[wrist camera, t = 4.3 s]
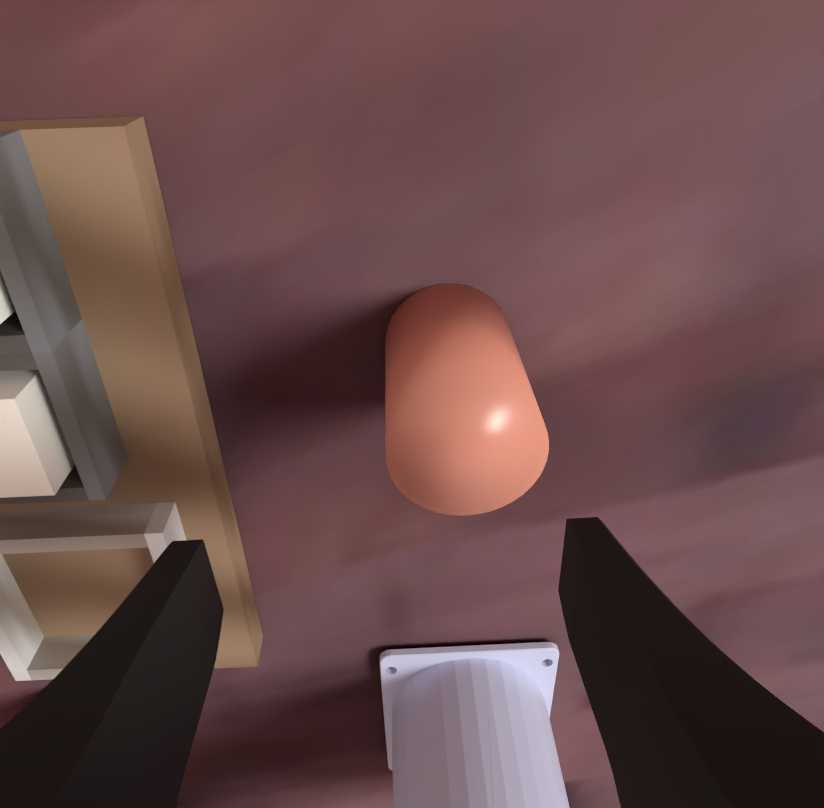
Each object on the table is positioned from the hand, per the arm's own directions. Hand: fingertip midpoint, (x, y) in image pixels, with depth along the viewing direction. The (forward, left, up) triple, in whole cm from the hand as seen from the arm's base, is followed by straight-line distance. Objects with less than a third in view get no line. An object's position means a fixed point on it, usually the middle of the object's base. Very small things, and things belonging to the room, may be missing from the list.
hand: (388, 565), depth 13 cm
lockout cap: (0, -2, -9) cm, 10 cm away
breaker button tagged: (0, +11, -7) cm, 13 cm away
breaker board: (-3, +11, -9) cm, 15 cm away
